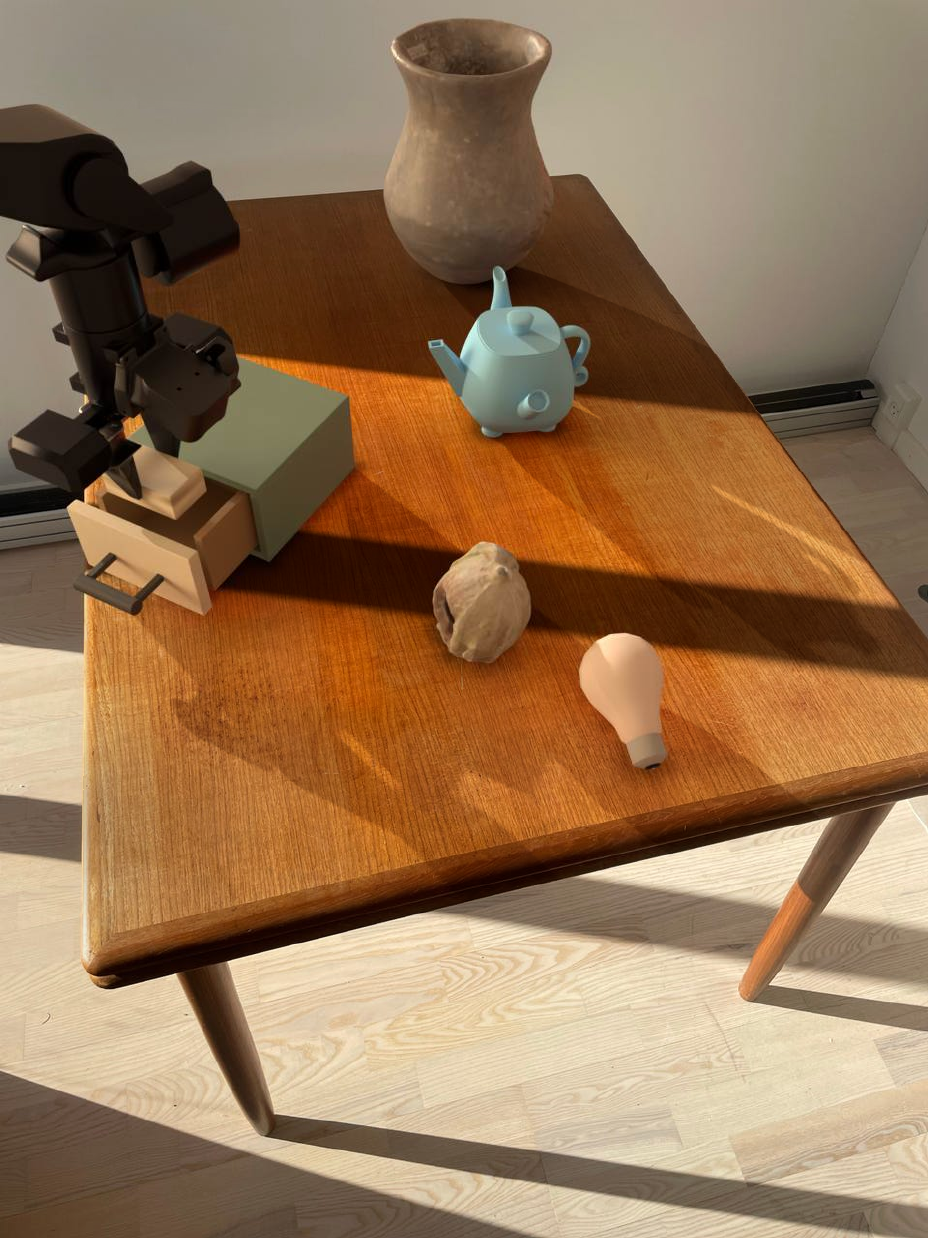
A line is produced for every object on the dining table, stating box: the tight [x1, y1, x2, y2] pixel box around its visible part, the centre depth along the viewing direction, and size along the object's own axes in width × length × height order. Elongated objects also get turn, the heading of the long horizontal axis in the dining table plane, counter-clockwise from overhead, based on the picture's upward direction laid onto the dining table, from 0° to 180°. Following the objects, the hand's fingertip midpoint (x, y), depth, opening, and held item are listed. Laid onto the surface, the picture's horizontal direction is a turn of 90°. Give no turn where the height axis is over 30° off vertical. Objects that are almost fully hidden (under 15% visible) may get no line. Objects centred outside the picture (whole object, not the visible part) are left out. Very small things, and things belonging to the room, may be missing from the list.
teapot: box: [427, 266, 591, 438], centre depth 97 cm, size 15×14×11 cm
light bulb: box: [578, 632, 669, 771], centre depth 74 cm, size 7×7×11 cm
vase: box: [383, 17, 555, 285], centre depth 109 cm, size 20×19×25 cm
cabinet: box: [126, 355, 356, 563], centre depth 89 cm, size 15×14×9 cm
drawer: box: [66, 475, 259, 617], centre depth 83 cm, size 18×12×7 cm
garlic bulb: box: [432, 541, 532, 664], centre depth 78 cm, size 9×8×10 cm
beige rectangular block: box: [101, 441, 207, 520], centre depth 78 cm, size 7×4×2 cm, turn 63°
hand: (153, 481), depth 78 cm, fingers closed on beige rectangular block, 4 cm apart
